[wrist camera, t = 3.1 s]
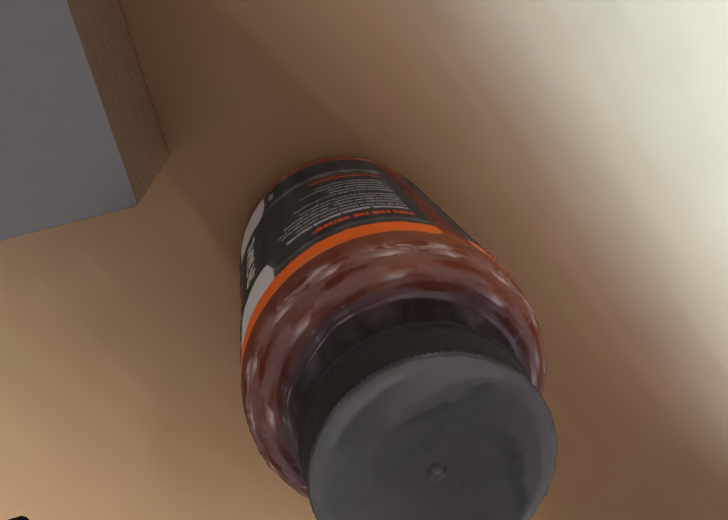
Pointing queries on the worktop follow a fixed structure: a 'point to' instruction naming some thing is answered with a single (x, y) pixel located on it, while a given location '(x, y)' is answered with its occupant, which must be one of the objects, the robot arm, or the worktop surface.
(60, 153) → the grey boxy piece
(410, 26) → the worktop surface
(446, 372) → the supplement bottle
